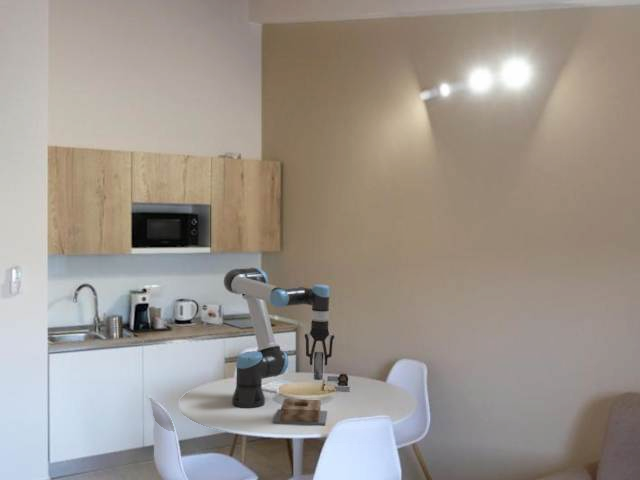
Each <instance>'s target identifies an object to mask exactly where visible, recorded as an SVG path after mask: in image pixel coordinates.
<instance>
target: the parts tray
mask: <svg viewBox="0 0 640 480" xmlns="http://www.w3.org/2000/svg"><path fill="white" fill-rule="evenodd" d="M347 376H348V381H347V386H338V385H331V386H334V387H335V389H336V391H335V392H351V391H350V390H351V389H350V387H351V376H349V375H347ZM338 377H339V375H325V379H324V384H327V385H328V382H339V380H338ZM324 384H323V385H324Z"/></svg>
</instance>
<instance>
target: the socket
mask: <svg viewBox="0 0 640 480" xmlns="http://www.w3.org/2000/svg"><path fill="white" fill-rule="evenodd" d="M321 402H322V400H321V399H305V398H304V399H302V398H301V399H300V398H284V400H283V401H282V404H281V407H280V408H278V409H277V410H276V413H275V415H274V417H273V420H272V423H273V424H285V425H287V424H288V425H310V426H326V423H327V418H328V417H327V416H328V410H321V405H322V403H321Z"/></svg>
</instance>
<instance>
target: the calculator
mask: <svg viewBox="0 0 640 480" xmlns="http://www.w3.org/2000/svg"><path fill="white" fill-rule="evenodd" d="M291 383H295V382H293V381H287V380H284V379H283V380H282V379H278V380H274V381H272V382H268V383H265V384H261V387H262V391H263V392H269V393H274V394H279V387H280V386H282V385H284V384H291Z"/></svg>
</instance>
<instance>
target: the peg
mask: <svg viewBox="0 0 640 480" xmlns="http://www.w3.org/2000/svg"><path fill="white" fill-rule="evenodd" d="M313 357H314V373H313V380H316V381H321V380H323V378H324V377H323V376H324V373H323V357H324V351H319V350H317V351H315V350H314V354H313Z"/></svg>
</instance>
